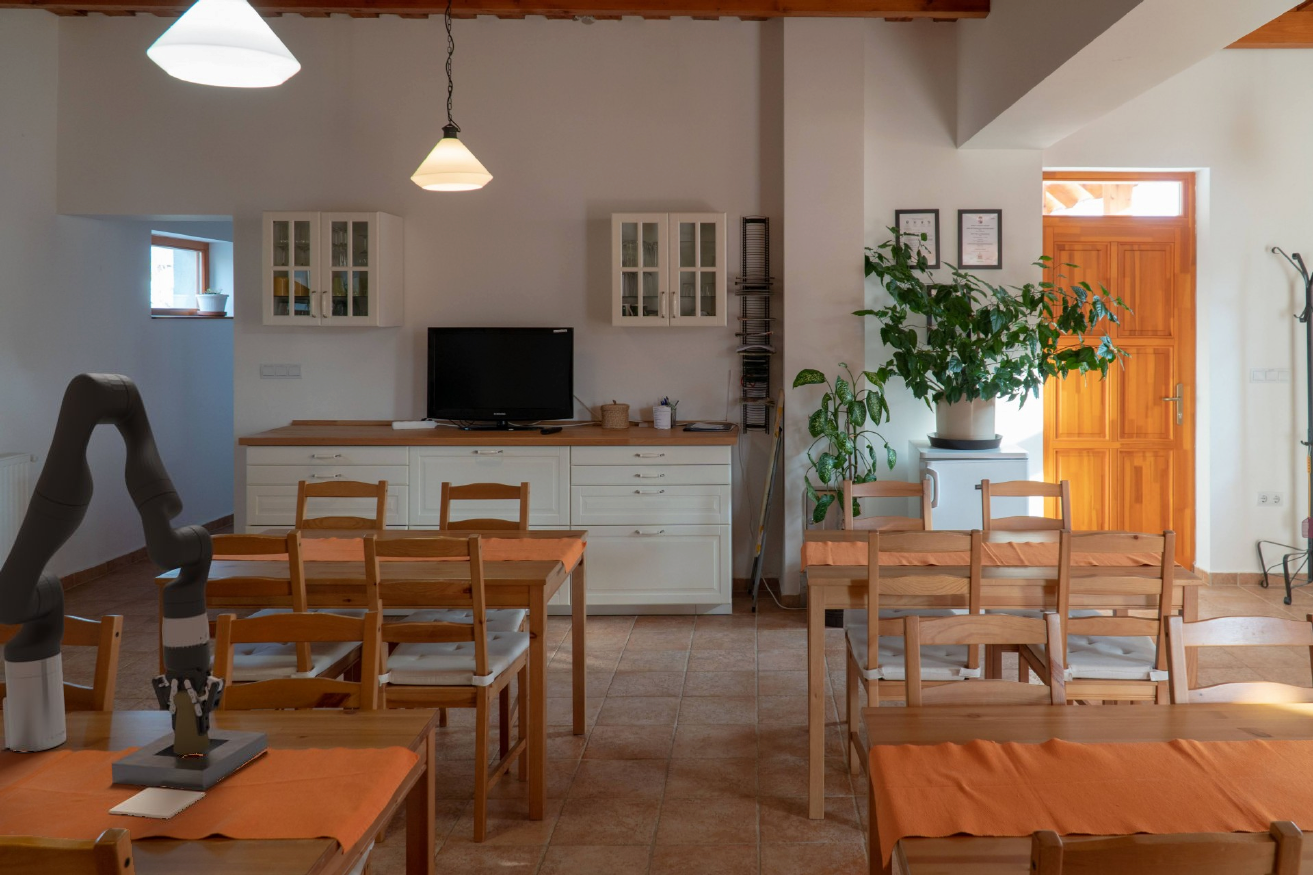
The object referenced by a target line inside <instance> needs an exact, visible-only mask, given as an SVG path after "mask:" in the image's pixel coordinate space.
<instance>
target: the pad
mask: <svg viewBox="0 0 1313 875" xmlns="http://www.w3.org/2000/svg"><path fill="white" fill-rule="evenodd" d="M205 795H206V792H205V791H194V790H183V789H172V788H161V787H147V788H145V789H143V790H142V791H140V792H138V793H137V794H135V795H133V796H132V797H130V798H128V799H126V800H125V801H122V802H120V803H119V804H118V805H116V806H113V808H112V807H111V809H109V810H108V814H113V815H121V814H128V815H127V816H132V815H134V817H142V816H145V817H144V818H153V819H162V818H166V819H165V820H169V819H171V818H172V817H174V816H176V815H177V814H179V813H180V812H182V811H183V810H185V809H186V807H187V808H188V807H190V806H191V805H193V804H194V803H196V802H198V801H200V800H201V799H203V798H205V797H206V796H205ZM202 797H203V798H202ZM197 800H198V801H197ZM195 801H196V802H195ZM189 805H190V806H189ZM182 809H183V810H182ZM178 812H179V813H178ZM175 814H176V815H175ZM168 818H169V819H168Z"/></svg>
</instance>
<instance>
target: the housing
mask: <svg viewBox="0 0 1313 875" xmlns="http://www.w3.org/2000/svg"><path fill="white" fill-rule="evenodd" d="M208 736H209V741H210V747H209V748H208V749H207V750H205V751H202V752H199V753H197V754H203V756H199V757H198V758H194V757H193V758H191V757H184V758H182V757H183V756H184V755H179V754H175V753H174V752H173V749H174V738H175V733H174V731H173V730H172V731H171V732H170V733H168V734H166V735H163V736H162V737H159V738H158V739H156V740H154V741H152V742H150V743H148V744H146V745H144V746H143V747H140V748H138V749H137V750H134V751H132V752H130V753H129V754H127V755H124V756H123V757H121V758H119V759H117V760H115V761H112V762H111V776H112V778H111V779H112V784H120V785H121V784H122V785H130V784H134V785H133V786H141V785H146V786H145V787H152V786H166V787H173V788H172V789H174V788H183V789H182V790H185V789H191V790H190V791H196V790H205V791H207V790H208V789H209V787H210V786H211V787H213V786H214V785H216V784H217V783H216V782H217V781H219V780H220V779H222V778H223V777H225V776H227V775H229V774H230V773H232V772H233V771H235V770H236V769H237V768H239V767H241V766H242V765H243V764H245V763H246V762H248V761H249V760H251V759H252V758H254V757H255V756H256V755H258V754H259V753H261V752H262V751H264V750H265V749H268V733H267V732H261V731H260V732H259V731H257V732H256V731H247V730H246V731H245V730H232V729H231V730H229V729H217V728H209V730H208ZM195 754H196V753H195ZM235 772H236V771H235ZM232 774H233V773H232ZM230 775H231V774H230ZM230 775H229V776H230ZM227 777H228V776H227ZM222 780H223V779H222ZM219 782H220V781H219ZM215 783H216V784H215ZM213 784H214V785H213ZM212 785H213V786H212ZM211 787H210V788H211ZM207 788H208V789H207Z"/></svg>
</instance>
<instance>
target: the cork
mask: <svg viewBox="0 0 1313 875" xmlns="http://www.w3.org/2000/svg"><path fill="white" fill-rule="evenodd" d="M203 695H204V691H203V692H202V693H200V694H198V695H197V697H198V698H199V697H201V696H203ZM173 702H174V705H175V707H176V708H177V715H176V726H175V738H174V749H173V752H174V753H175V754H179V755H188V756H190V755H189V754H195V753H199V752H202V751H205V750H207V749H208V748H209V747H210V741H209V736H208V732H207V733H206V734H204V735H203V736H199V735H198V731H197V726H196V717H195V716H197V714H196V711H195V704H193V703H192V699H191V697H190V695H189V694H188V691H184V690H182V691H178V692H177V693H176V694H175V695H174V698H173ZM203 702H204V700H203V701H201V704H203ZM202 707H203V706H202Z"/></svg>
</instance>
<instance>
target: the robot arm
mask: <svg viewBox="0 0 1313 875" xmlns="http://www.w3.org/2000/svg"><path fill="white" fill-rule="evenodd" d="M56 421H57V422H56V426H55V428H54V434H53V437H52V440H51V444H50V447H49V450H48V453H47V456H46V459H45V462H44V465H43V467H42V470H41V473H40V475H39V477H38V479H37V482H36V484H35V487H34V489H33V492H32V495H31V498H30V501H29V504H28V507H27V510H26V513H25V516H24V517H23V520H22V523H21V525H20V528H19V530H18V532H17V536H16V538H15V540H14V543H13V545H12V547H11V550H10V551H9V553H8V555H7V557H6V559H5V561H4V563H3V565H2V567H1V569H0V624H1V625H3V626H4V625H5V626H16V625H21V624H22V625H21V627H20V628H19V631H18V632H17V633H16V634H15V635H14V636H13V637H12V638H10V639H9V640H8V641H7V642H6V643H5V645H4V646H3V658H4V659H3V660H4V671H5V674H4V675H5V686H6V688H5V689H6V697H4V698H3V699H2V712H3V724H4V725H3V726H4V740H5V748H8V749H10V750H11V751H12V750H16V751H20V750H21V751H34V752H39V751H44V750H49V749H51V748H52V749H53V748H54V747H57V746H60V745H61V744H63V743H65V742H66V740H67V728H66V727H67V726H66V713H65V712H66V710H65V709H66V708H65V696H64V680H63V679H64V678H63V663H62V648H61V647H62V643H63V639H64V636H65V592H64V589H63V585H62V582H61V580H60V578H59V577H58V576H57V574H56V573H55V572H53V571H52V570H50V569H45V568H46V566H47V564H48V563H49V561H50V560H51V558H53V556H54V555H55V554H56V553H57V552H58V551H59V550H60V548H62V546H64V545H65V544H66V543H67V541H69V539H70V538H71V537H72V536H73V535H74V534H75V532H76V531H77V530H78V529H79V527H80V526H81V524H82V522H83V521H84V518H85V516H86V514H87V511H88V509H89V506H90V504H91V501H92V497H93V495H94V480H93V476H92V472H91V469H90V465H89V462H88V458H87V449H88V445H89V442H90V439H91V437H92V434H93V431H94V429H95V427H96V426H97V425H114V426H115V427H116V429H117V430H118V431H119V433H120V435H121V437H122V439H123V441H124V445H125V450H126V452H125V454H126V455H125V456H126V457H125V465H124V479H125V486H126V489H127V491H128V494H129V496H130V499H132V502H133V505H134V506H135V508H136V509H137V510H136V511H137V512H138V514H139V515H140V518H141V523H142V524H141V525H142V529H143V533H144V534H143V535H144V542H145V547H146V551H147V555H148V558H149V559H150V561H151V563H153V565H155V566H156V567H157V568H158V569H160V570H162V571H173V570H178V569H179V573H178V575H177V577H175V578H174V579H172V580H171V581H168V582H167V583H165V585H164V586H163V587H162V590H161V606H162V626H161V633H162V650H163V651H162V653H163V666H164V668H165V669H166V671H165V672H164V673H165V674H161V675H158V676H156V677H154V678H152V679H151V685H152V687H153V690H154V693H155V696H156V698H157V701H158V704H159V706H160V707H159V708H160V709H161V710H162V711H165V710H166V711H168V712H169V713H170V715H171V728H172V732H173V731H174V733H175V726H176V715H177V708H176V707H175V705H174V702H173V698H174V695H175V694H176V693H177V692H178V691H182V690H184V691H188V694H189V695H190V697H191V699H192V703H193V704H195V711H196V714H197V716H195V717H196V726H197V731H198V735H199V736H203V735H204V734H206V733H207V732H208V730H209V729H211V728H210V726H211V725H210V713H212V712H214V711H215V710H218V709H219V708H220V705H221V702H222V697H223V694H224V691H225V690H224V689H225V686H226V679H225V678H224V677H220V678H217V677H215V676H212V673H211V670H210V663H211V644H210V625H209V619H208V614H207V600H206V598H207V596H206V587H207V585H208V580H209V574H210V569H211V566H212V561H213V557H214V541H213V539H212V536H211V534H210V532H209V531H208V529H206V528H205V527H203V526H202V525H199V524H198V525H197V524H191V525H187V526H181V527H176V528H173V527H172V526H171V522H170V521H172V520H174V519H175V518H177V517H178V516H179V515H180V514H181V513H182V511H183V509H184V504H183V502H182V499H181V497H180V495H179V493H178V492H177V490H176V488H175V485H174V484H173V482H172V480H171V477H170V475H169V474H168V472H167V470H166V468H165V465H164V463H163V461H162V458H161V456H160V452H159V451H158V447H157V443H156V440H155V437H154V434H153V430H152V427H151V424H150V423H151V422H150V421H149V417H148V414H147V410H146V408H145V404H144V402H143V398H142V395H141V393H140V391H139V388H138V386H137V385H136V384H135V382H134V381H133V380H132V379H131V378H130V377H128V376H126V375H124V374H118V373H100V372H99V373H98V372H85V373H80V374H78V375H77V374H76V376H74V377H73V378H72V379H71V381H70V382H69V383H68V385H67V387H66V389H65V391H64V394H63V397H62V401H61V405H60V408H59V413H58V418H57V420H56ZM203 691H204V695H203V696H201V697H199V698H198V697H197V695H198V694H200V693H202V692H203ZM203 700H204V702H203V704H201V701H203ZM202 706H203V707H202Z"/></svg>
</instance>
